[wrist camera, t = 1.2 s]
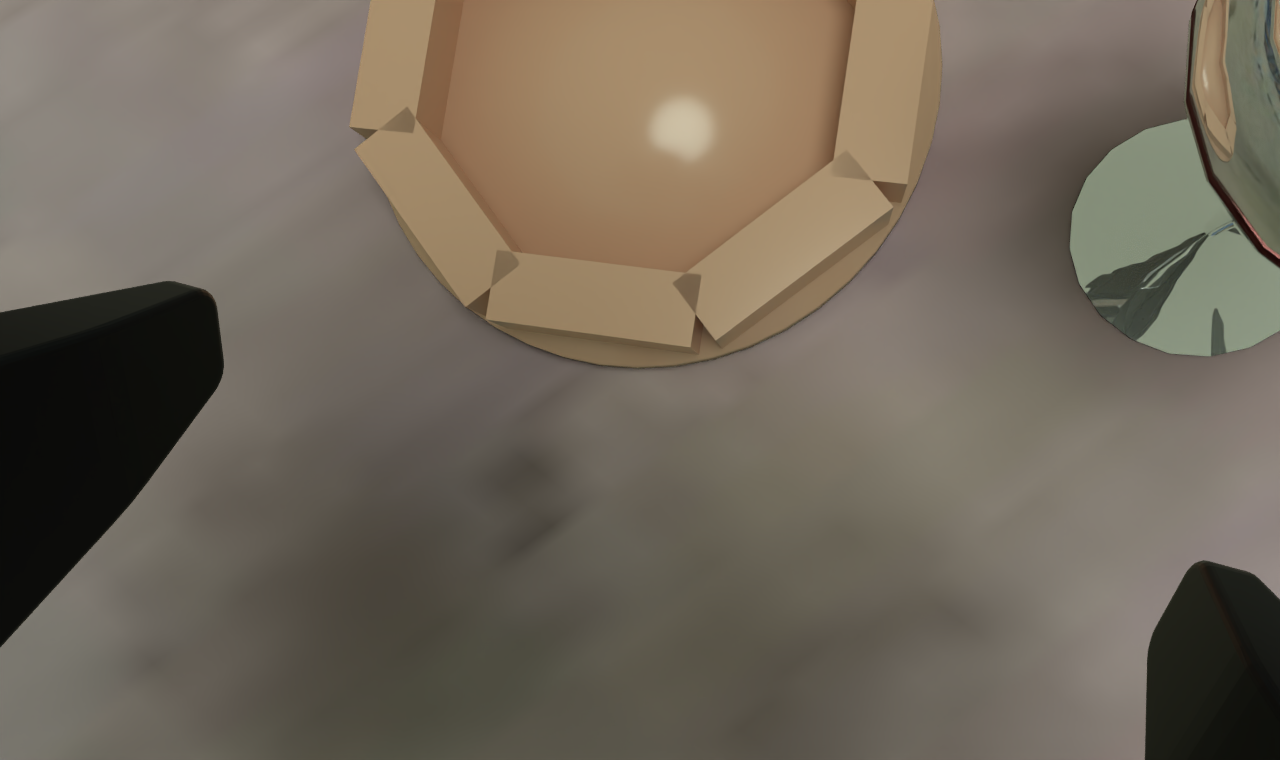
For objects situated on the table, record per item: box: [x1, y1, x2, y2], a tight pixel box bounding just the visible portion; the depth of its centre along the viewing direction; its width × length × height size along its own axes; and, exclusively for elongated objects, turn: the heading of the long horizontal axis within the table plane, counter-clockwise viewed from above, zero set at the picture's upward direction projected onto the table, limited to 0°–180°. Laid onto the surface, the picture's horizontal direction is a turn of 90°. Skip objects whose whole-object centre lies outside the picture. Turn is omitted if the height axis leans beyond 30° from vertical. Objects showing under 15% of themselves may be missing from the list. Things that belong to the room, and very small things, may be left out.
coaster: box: [349, 0, 942, 368], centre depth 22 cm, size 13×13×2 cm
